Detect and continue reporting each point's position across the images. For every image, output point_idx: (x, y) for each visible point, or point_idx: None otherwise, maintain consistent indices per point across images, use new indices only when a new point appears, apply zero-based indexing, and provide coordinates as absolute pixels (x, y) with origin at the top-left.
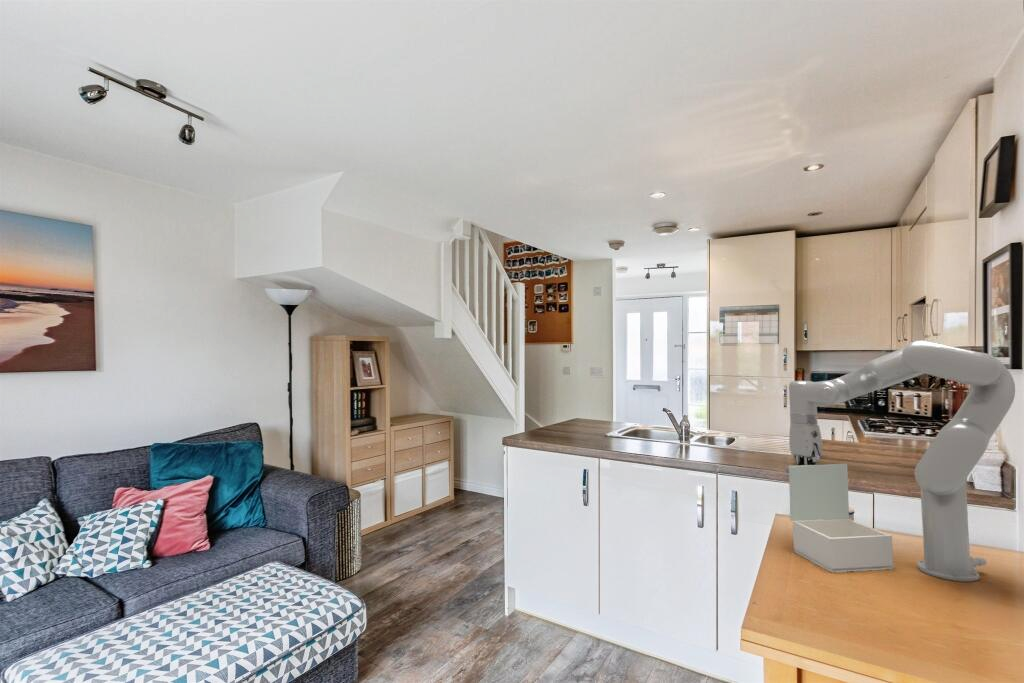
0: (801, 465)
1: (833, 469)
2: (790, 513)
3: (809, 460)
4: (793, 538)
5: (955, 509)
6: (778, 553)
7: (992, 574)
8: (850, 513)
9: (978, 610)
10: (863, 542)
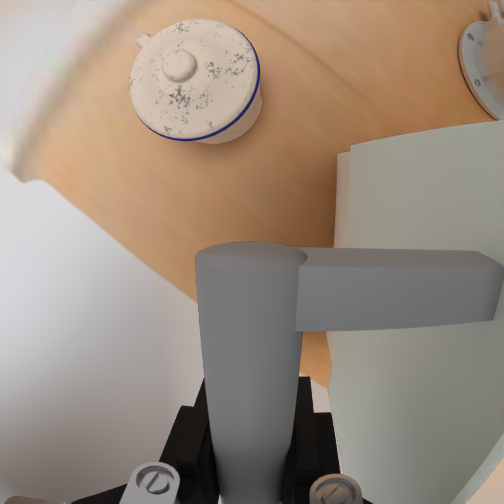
0: (214, 501)
1: None
2: (332, 408)
3: None
4: (330, 354)
5: None
6: (325, 373)
7: (498, 6)
8: (257, 59)
9: None
10: None
